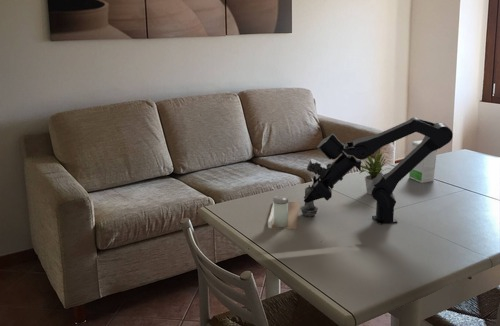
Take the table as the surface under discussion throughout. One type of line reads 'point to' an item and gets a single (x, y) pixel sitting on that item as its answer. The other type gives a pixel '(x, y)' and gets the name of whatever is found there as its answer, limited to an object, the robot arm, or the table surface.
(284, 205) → the sage ceramic jar
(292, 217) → the shelf board
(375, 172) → the house plant
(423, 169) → the skincare box
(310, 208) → the grey chess piece
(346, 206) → the table surface
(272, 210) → the rail
